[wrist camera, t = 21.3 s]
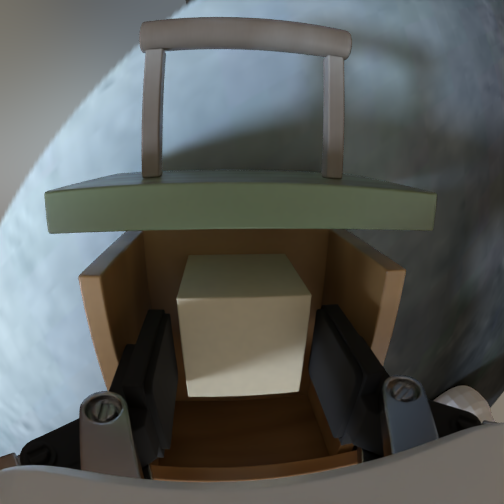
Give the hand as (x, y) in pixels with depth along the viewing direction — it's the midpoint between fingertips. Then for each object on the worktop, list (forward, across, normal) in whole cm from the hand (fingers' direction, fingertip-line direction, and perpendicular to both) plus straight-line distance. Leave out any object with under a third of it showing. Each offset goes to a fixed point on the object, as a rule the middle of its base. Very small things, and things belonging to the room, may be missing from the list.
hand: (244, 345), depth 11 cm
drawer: (+5, 0, -2) cm, 6 cm away
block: (+4, 0, 0) cm, 4 cm away
